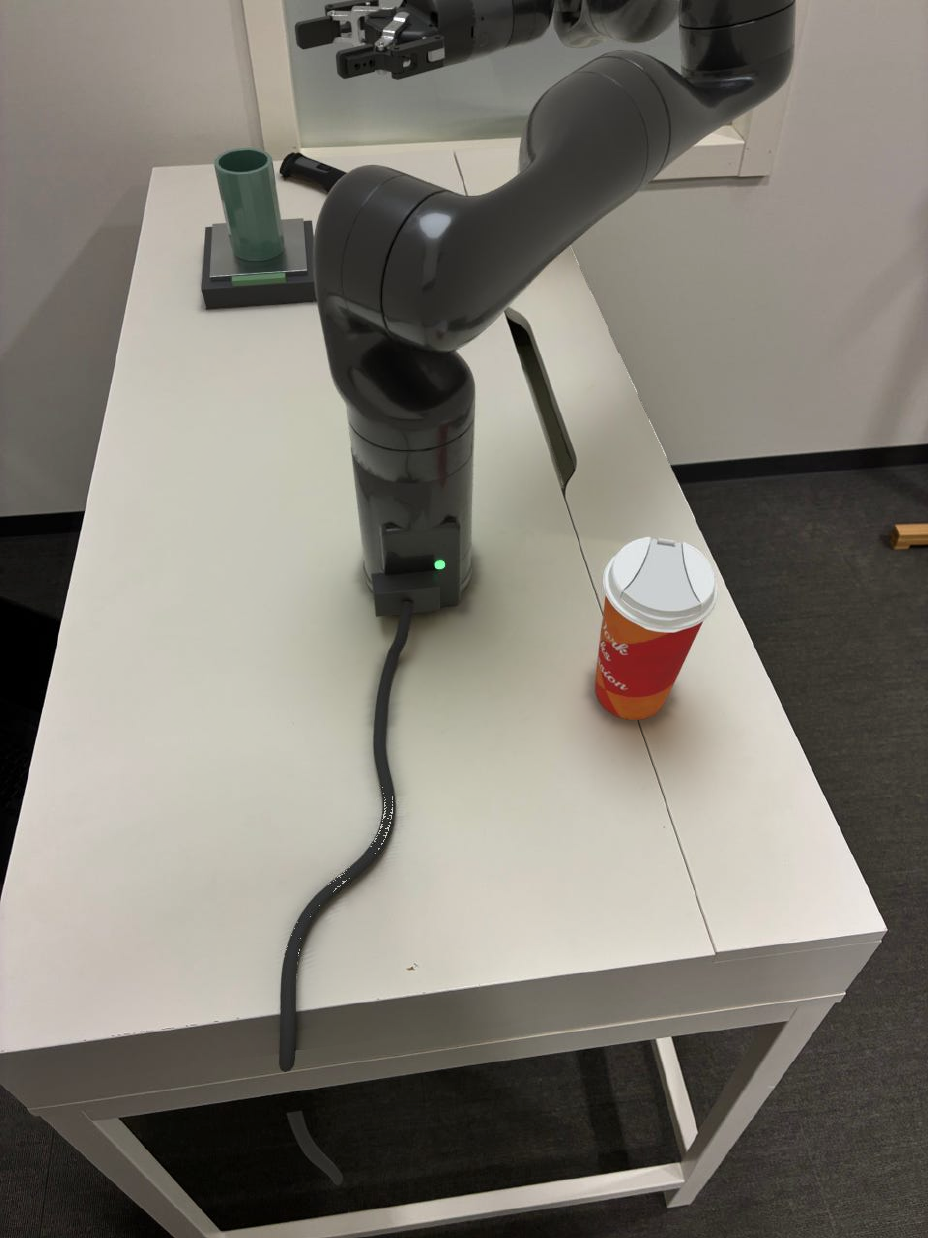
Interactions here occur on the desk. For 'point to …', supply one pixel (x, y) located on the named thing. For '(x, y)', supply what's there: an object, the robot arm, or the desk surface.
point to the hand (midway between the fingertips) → (317, 50)
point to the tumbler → (250, 203)
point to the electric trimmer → (310, 170)
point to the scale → (258, 270)
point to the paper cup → (650, 622)
